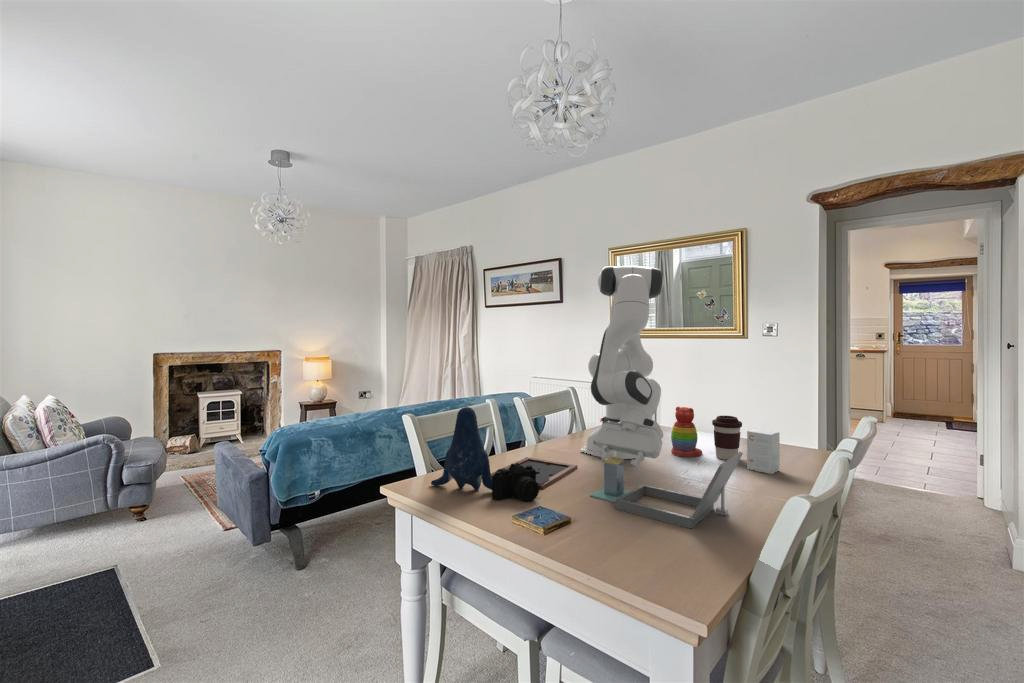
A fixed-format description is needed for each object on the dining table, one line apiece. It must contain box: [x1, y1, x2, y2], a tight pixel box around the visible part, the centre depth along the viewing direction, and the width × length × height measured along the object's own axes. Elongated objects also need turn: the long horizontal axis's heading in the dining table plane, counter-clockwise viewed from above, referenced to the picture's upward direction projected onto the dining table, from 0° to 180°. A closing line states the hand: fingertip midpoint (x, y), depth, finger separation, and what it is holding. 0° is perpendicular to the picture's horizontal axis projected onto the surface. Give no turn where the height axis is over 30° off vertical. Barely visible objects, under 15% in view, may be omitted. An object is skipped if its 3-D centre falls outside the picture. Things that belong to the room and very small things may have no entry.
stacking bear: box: [670, 406, 703, 458], centre depth 183 cm, size 11×10×18 cm
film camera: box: [491, 463, 540, 502], centre depth 138 cm, size 15×10×9 cm, turn 121°
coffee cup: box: [711, 415, 743, 461], centre depth 177 cm, size 10×10×15 cm
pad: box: [589, 487, 631, 504], centre depth 139 cm, size 10×10×1 cm
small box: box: [746, 428, 781, 475], centre depth 162 cm, size 8×6×13 cm
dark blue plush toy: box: [430, 406, 492, 491], centre depth 144 cm, size 25×11×25 cm, turn 72°
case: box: [615, 451, 744, 529], centre depth 126 cm, size 27×16×16 cm, turn 49°
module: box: [603, 457, 625, 497], centre depth 139 cm, size 4×4×10 cm
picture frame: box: [490, 456, 578, 491], centre depth 160 cm, size 20×2×25 cm
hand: (618, 463), depth 142 cm, fingers open, 8 cm apart
